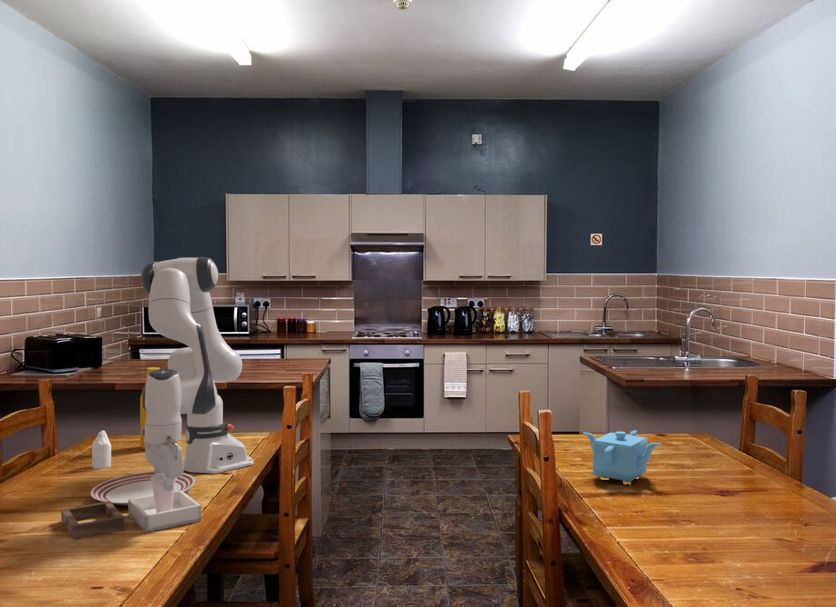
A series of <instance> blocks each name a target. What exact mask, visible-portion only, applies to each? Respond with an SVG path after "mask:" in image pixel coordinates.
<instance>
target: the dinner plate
mask: <svg viewBox="0 0 836 607" xmlns="http://www.w3.org/2000/svg"><path fill="white" fill-rule="evenodd" d="M153 475H155V472H154V470H153V471H143V472H136V473H135V472H134V473H130V474H126V475H125V474H124V475H122V476H121V475H120V476H117V477H114V478H111V479H109V480H105V481H103V482H100V483H99V484H97V485H96V486H94V487H93V488H92V490H90V496H91V497H92V499H94V500H96V501H98V502H100V503H101V502H107V501H110V502H111V503H112V504H113V505H117V506H125V507H128V499H133V498H139V497H145V496H150V495H154V493H153V486H152V482H151V477H152V476H153ZM195 483H196V479H195V477H194V476H192V475H191V474H187V473H185V472H183V475H182V476H181V477H177V480H176V481H175V489H174V491H178V490H182V491H183V492H184V493H186V492H188V491H189V490H191V488H192V487H193V486H194V485H195Z"/></svg>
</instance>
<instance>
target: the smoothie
mask: <svg viewBox="0 0 836 607" xmlns="http://www.w3.org/2000/svg"><path fill="white" fill-rule="evenodd" d="M165 480H166V478H165V475H164V474H163V473H160V474H156V475H153V476H152V477H151V482H152V486H153V493H154V500H155V508H156V513H159V512H164V511H170V510H172V506H173V498H174V489H175V481H176V480H177V477H176V478H175V480H174V483H173V490H172V491H168V492H167V491H166V490H165V489H164V483H165Z"/></svg>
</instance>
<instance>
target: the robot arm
mask: <svg viewBox="0 0 836 607" xmlns="http://www.w3.org/2000/svg"><path fill="white" fill-rule="evenodd" d="M216 265H217V264H216V263H215V262H214V260H213V259H212V258H210V257H206V256H198V257H178V258H174V259H168V260H162V261H153V262H149V263H146V265H145V266H144V267H143V268H142V269H141V270H142V271H141V283H142V284H141V285H142V288H143V291H144V292H146V294H148V296H149V297H148V320H149V324H150V326H151V327H152V329H153V330H154V331H155V332H156V333H158V334H159V335H161V336H163V337H165V338H168V339H171V340H174V341H176V342H178V343H182V344H184V345H186V346H187V347H181V348H177V349H175V350H173V351H172V352H171V353H170V355H169V357H168V360H167V368H160V369H158V370H154V371H152V372H150V373H149V374H148V377H147V376H146V377H147V383H146V382H145V385H146V386H144V387H143V389H142V392H141V394H142V399H143V408H144V409H145V410H146V411H147V417H146V420H145V427H144V428H142V435H143V436H144V437H145V438H144V444H145V450H144V454H145V458H146V462H147V463H149V464H150V465H151V466H152V467H153V471H154V472H155V475H156V474H160V473H163V474H164V475H165V478H166V480H165V483H164V489H165V490H166V491H167V492H168V491H172V490H173V483H174V480H175V478H176V477H181V476H182V475H183V473H184V471H185V472H187V473H188V472H189V473H196V474H197V473H199V474H203V473H205V474H213V475H214V474H218V473H219V474H220V473H224V472H227V471H232V470H236V469H237V470H238V469H240V468H245V467H250V466H252V465H254V464H255V462H254V461H255V460H254V459H253V458H252V457H251V456H249V455H248V454H247V449H246V446H245V445H244V443H243V442H241V441H240V440H239V439H238V438H236V437H234V436H233V435H231V434H230V433H229V432H232V431H233V430H234V428H235V427H234V425H232V424H231V423H230V424H229V423H226V422H224V420H223V419H224V418H223V417H224V416H223V415H224V412H223V410H224V405H223V404H224V402H223V399H222V398H221V395H219V394H218V390H217V386H216V384H215V383H217V384H221V383H228V382H233V381H235V380H237V379H238V377H240V375H241V373H242V370H243V361H242V360H243V359H242V358H241V356H240V354H239V353H238V352H237V351H236V350H234V349H232V348H231V346H230V345H228V344H227V342H226V341H225V339H224V338H223V337H222V334H221V333H220V331H219V329H218V325H217V322H216V321H217V320H216V317H215V312H214V306H213V302H212V297H211V293H210V292H211V291H212V290H213V289H215V287H216V286H217V284H218V280H219V270H218V267H217V266H216ZM184 414H185V415H186V416H187V417H186V421H187V424H186V425H185V442H186V445H185V446H186V448H185V454H184V455H185V456H184V459H183V449H182V447H181V445H179V444H178V442H180V441H181V440H182V439H183V419H182V416H181V415H184Z"/></svg>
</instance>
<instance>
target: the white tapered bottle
mask: <svg viewBox="0 0 836 607" xmlns="http://www.w3.org/2000/svg"><path fill="white" fill-rule="evenodd" d="M91 450H92V451H91V453H92V454H91V465H92V466H91V468H92V469H93V470H102V468H103V469H107V467H108V468H110V467H112V444H111V441H110V440H109V437H108V434H107V433H106V431H105V430H101V431H99V432H98V434H97V436H96V437H95V439H94V440H93V442H92V445H91Z"/></svg>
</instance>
